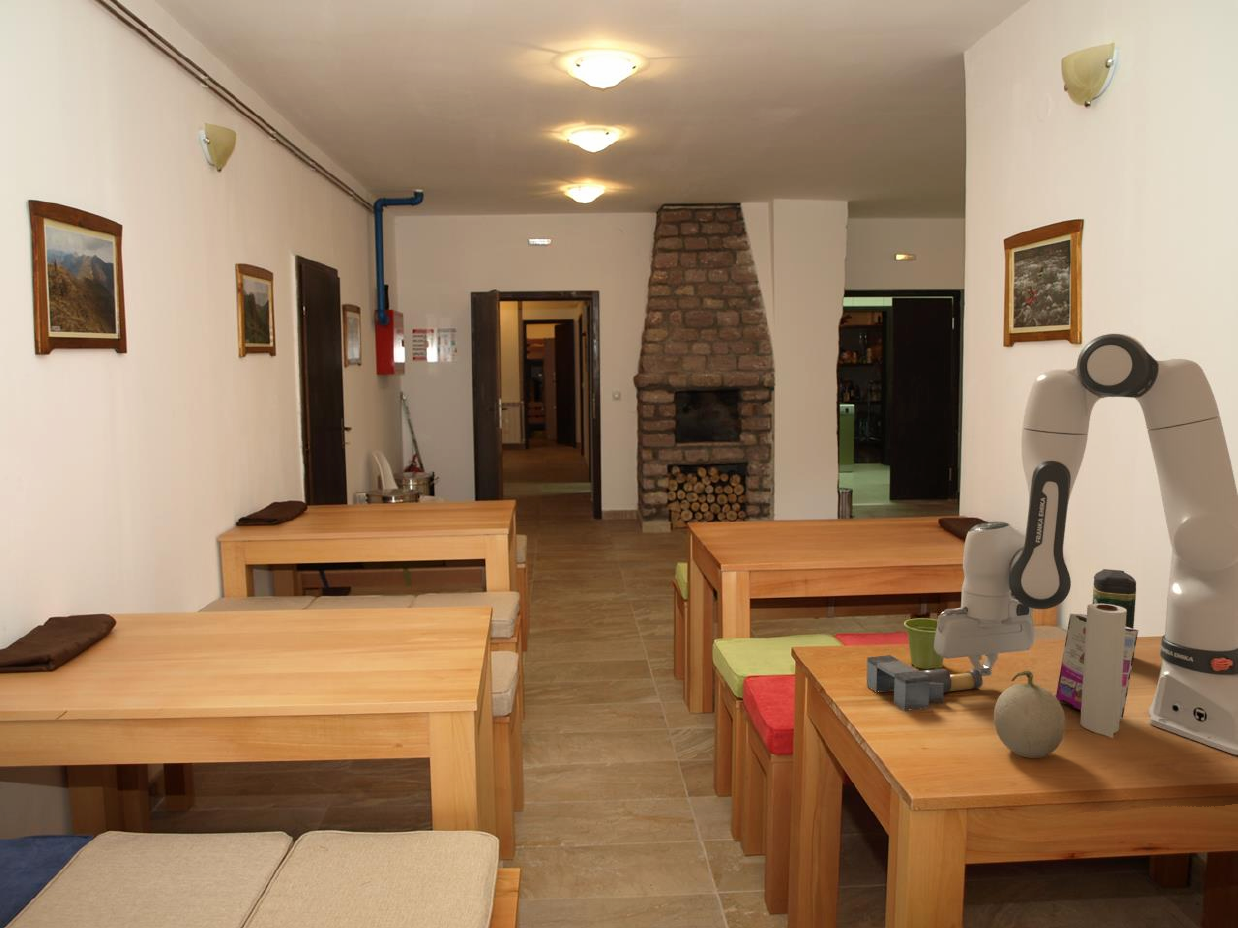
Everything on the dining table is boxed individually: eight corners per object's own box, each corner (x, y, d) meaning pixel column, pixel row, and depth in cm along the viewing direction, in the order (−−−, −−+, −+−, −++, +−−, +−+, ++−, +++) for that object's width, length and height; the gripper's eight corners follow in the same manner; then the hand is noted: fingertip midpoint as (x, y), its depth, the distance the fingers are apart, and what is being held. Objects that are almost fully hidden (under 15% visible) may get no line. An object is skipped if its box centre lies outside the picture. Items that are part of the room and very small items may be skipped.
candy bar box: (1124, 721, 168) (1140, 630, 167) (1103, 720, 166) (1119, 628, 165) (1074, 699, 179) (1089, 613, 177) (1053, 699, 177) (1068, 612, 176)
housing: (948, 705, 176) (949, 674, 175) (904, 710, 173) (905, 679, 172) (907, 681, 188) (908, 653, 187) (866, 686, 185) (867, 657, 185)
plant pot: (941, 676, 191) (943, 633, 190) (895, 666, 197) (897, 625, 196) (956, 663, 199) (958, 623, 198) (912, 655, 204) (913, 615, 203)
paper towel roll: (1085, 717, 170) (1092, 600, 167) (1122, 726, 166) (1130, 606, 163) (1074, 730, 164) (1081, 608, 161) (1112, 739, 160) (1120, 615, 158)
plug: (968, 682, 187) (971, 661, 186) (983, 692, 183) (985, 670, 182) (913, 688, 184) (915, 667, 183) (927, 698, 179) (929, 677, 178)
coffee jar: (1134, 666, 197) (1140, 578, 194) (1091, 662, 199) (1096, 575, 197) (1127, 652, 206) (1133, 568, 203) (1087, 648, 208) (1092, 565, 206)
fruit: (1040, 738, 161) (1045, 651, 159) (1075, 767, 150) (1081, 675, 148) (979, 739, 161) (983, 652, 159) (1009, 768, 149) (1014, 676, 147)
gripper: (948, 614, 178) (945, 686, 179) (1041, 605, 183) (1037, 675, 185) (928, 605, 184) (925, 675, 185) (1018, 597, 189) (1015, 665, 191)
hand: (982, 675), depth 185 cm, fingers closed
